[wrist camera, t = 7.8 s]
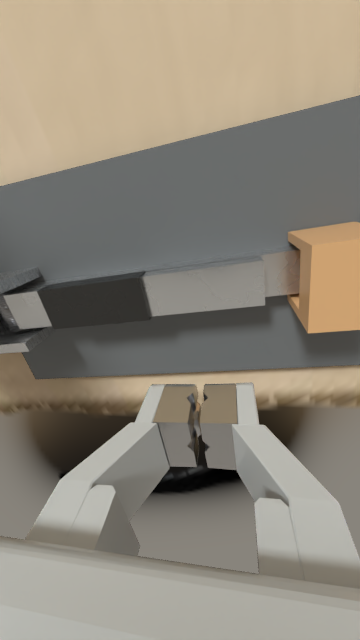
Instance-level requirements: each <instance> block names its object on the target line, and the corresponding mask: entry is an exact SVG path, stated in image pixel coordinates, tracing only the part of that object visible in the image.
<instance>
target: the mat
mask: <svg viewBox="0 0 360 640" xmlns="http://www.w3.org/2000/svg"><path fill="white" fill-rule="evenodd" d="M348 222H359V223H360V95H359V96H356V97H352V98H348V99H344V100H340V101H336V102H332V103H328V104H324V105H320V106H316V107H312V108H308V109H304V110H300V111H296V112H292V113H288V114H284V115H280V116H276V117H273V118H269V119H265V120H261V121H257V122H253V123H249V124H245V125H241V126H237V127H233V128H229V129H225V130H221V131H217V132H213V133H209V134H205V135H201V136H197V137H193V138H190V139H186V140H182V141H178V142H174V143H170V144H166V145H162V146H158V147H154V148H150V149H146V150H142V151H138V152H134V153H130V154H126V155H122V156H118V157H114V158H110V159H107V160H103V161H99V162H95V163H91V164H87V165H83V166H79V167H75V168H71V169H67V170H63V171H59V172H55V173H51V174H47V175H43V176H39V177H35V178H31V179H28V180H24V181H20V182H16V183H12V184H8V185H4V186H0V273H4V272H10V271H16V270H22V269H29V268H35V267H38V270H39V272H40V274H41V276H40V277H38V278H36V279H34V280H31V281H29V282H27V283H25V284H22V285H20V286H18V287H16V288H13V289H14V291H15V290H22V288H24V287H27V286H29V285H31V284H33V283H38V282H45V281H52V280H59V279H65V278H72V277H79V276H86V275H93V274H100V273H107V272H114V271H121V270H128V269H135V268H142V267H149V266H156V265H163V264H170V263H176V262H183V261H190V260H197V259H204V258H211V257H218V256H225V255H232V254H239V253H246V252H253V251H260V250H267V249H274V248H281V247H287V246H294V245H293V244H292V243H290V242H289V241H288V232H290V231H296V230H303V229H309V228H316V227H322V226H328V225H335V224H341V223H348ZM22 354H23V356H24V358H25V360H26V361H27V363H28V365H29V367H30V369H31V371H32V373H33V375H34V377H35V378H36V379H51V378H74V377H96V376H119V375H141V374H164V373H186V372H209V371H231V370H254V369H276V368H298V367H321V366H343V365H360V330H350V331H336V332H322V333H307V331H306V330H305V328H304V326H303V325H302V323H301V321H300V320H299V318H298V316H297V315H296V313H295V312H294V310H293V308H292V307H291V305H290V303H289V302H288V300H287V295H279V296H270V297H265V305H264V306H253V307H243V308H233V309H223V310H213V311H203V312H192V313H182V314H172V315H162V316H152V317H151V319H150V320H147V321H136V322H126V323H115V324H105V325H94V326H84V327H73V328H63V329H57V330H55V331H54V332H53V333H52V334H50V335H49V336H48V337H47V338H45V339H44V340H43V341H42V342H40V343H39V344H38V345H37V346H35V347H34V348H33V349H32V350H30V351H29V352H22Z"/></svg>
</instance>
